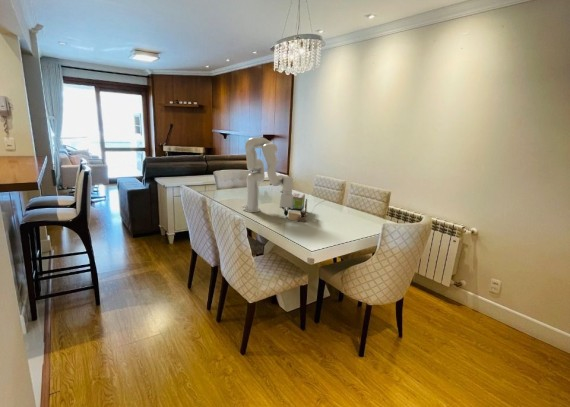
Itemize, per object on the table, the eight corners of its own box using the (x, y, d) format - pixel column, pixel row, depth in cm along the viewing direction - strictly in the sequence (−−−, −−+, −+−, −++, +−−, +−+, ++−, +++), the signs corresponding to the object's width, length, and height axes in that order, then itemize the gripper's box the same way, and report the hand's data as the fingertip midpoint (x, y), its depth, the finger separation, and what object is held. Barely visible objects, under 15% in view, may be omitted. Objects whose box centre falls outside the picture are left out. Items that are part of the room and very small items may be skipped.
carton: (289, 220, 236) (289, 214, 235) (288, 216, 247) (288, 210, 246) (300, 221, 236) (301, 214, 235) (299, 216, 248) (299, 210, 247)
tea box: (301, 215, 250) (302, 197, 247) (289, 213, 252) (290, 196, 249) (304, 210, 265) (305, 193, 261) (292, 209, 267) (293, 192, 263)
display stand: (297, 221, 232) (298, 203, 229) (298, 214, 250) (299, 198, 247) (305, 222, 232) (306, 204, 229) (306, 215, 250) (307, 198, 247)
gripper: (276, 193, 234) (276, 216, 239) (296, 194, 233) (295, 217, 237) (278, 191, 241) (277, 213, 246) (296, 192, 240) (295, 214, 245)
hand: (285, 215), depth 242 cm, fingers closed
